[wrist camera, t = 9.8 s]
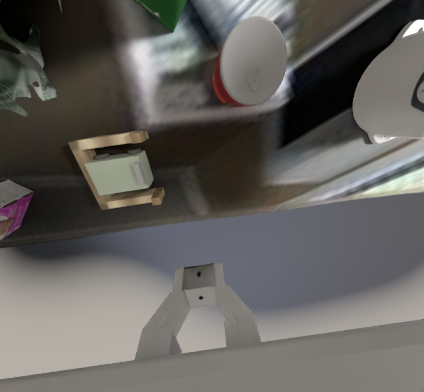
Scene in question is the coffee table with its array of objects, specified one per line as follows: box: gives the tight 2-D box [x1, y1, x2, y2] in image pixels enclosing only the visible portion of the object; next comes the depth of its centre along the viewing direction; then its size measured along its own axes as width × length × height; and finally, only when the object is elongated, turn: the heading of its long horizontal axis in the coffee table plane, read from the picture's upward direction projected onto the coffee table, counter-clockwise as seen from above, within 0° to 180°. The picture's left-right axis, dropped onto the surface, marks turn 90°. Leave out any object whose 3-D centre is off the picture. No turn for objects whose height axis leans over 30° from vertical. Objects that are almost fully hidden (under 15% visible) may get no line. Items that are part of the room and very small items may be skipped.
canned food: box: [212, 16, 287, 107], centre depth 24 cm, size 8×8×11 cm
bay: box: [68, 129, 165, 210], centre depth 31 cm, size 12×13×5 cm
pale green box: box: [84, 148, 154, 195], centre depth 31 cm, size 9×7×6 cm
